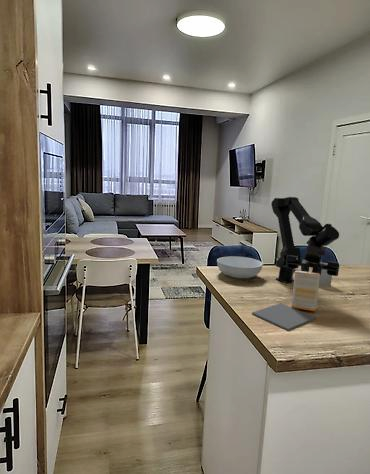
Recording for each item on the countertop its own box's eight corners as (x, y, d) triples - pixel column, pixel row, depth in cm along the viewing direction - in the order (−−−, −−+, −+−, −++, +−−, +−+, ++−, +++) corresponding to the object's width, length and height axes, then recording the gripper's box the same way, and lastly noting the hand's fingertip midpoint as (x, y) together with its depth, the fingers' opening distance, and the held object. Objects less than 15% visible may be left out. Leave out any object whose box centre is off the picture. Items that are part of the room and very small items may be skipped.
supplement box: (314, 309, 118) (319, 273, 118) (315, 312, 114) (320, 274, 113) (290, 305, 121) (295, 269, 121) (290, 307, 116) (295, 270, 116)
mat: (280, 304, 121) (280, 303, 121) (316, 318, 110) (316, 317, 110) (251, 314, 111) (252, 312, 111) (287, 330, 100) (288, 328, 100)
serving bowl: (245, 268, 168) (247, 255, 166) (270, 281, 148) (272, 266, 147) (208, 270, 160) (209, 256, 159) (229, 284, 141) (230, 268, 140)
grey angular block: (330, 287, 145) (333, 265, 143) (314, 285, 147) (317, 263, 145) (329, 284, 149) (332, 263, 147) (313, 282, 150) (316, 261, 148)
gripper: (289, 234, 127) (281, 268, 119) (343, 241, 119) (337, 278, 111) (290, 250, 135) (282, 283, 127) (340, 258, 127) (335, 293, 120)
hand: (308, 284), depth 121 cm, fingers closed
